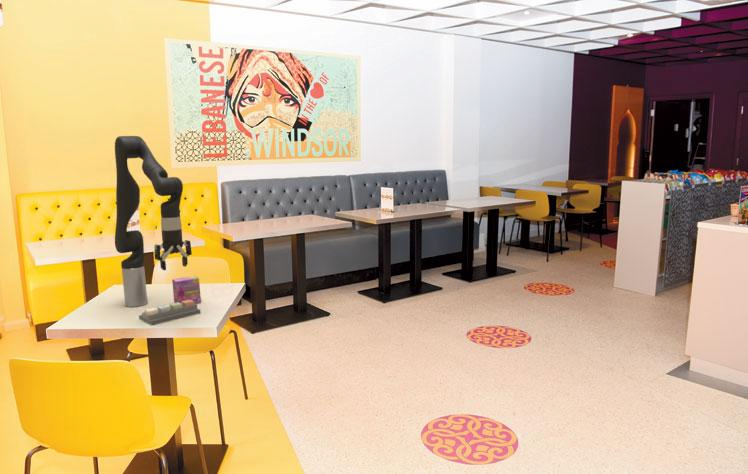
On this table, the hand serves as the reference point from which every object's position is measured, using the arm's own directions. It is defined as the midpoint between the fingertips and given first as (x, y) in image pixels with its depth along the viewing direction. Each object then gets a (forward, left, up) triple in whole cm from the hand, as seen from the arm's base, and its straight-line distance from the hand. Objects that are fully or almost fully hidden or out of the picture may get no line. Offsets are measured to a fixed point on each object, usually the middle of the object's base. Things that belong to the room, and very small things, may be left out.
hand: (174, 268), depth 224 cm
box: (-19, +14, -22) cm, 32 cm away
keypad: (-8, 0, -22) cm, 23 cm away
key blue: (-7, -3, -19) cm, 20 cm away
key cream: (-7, -8, -19) cm, 22 cm away
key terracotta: (-7, +8, -19) cm, 22 cm away
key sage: (-7, +3, -19) cm, 20 cm away
